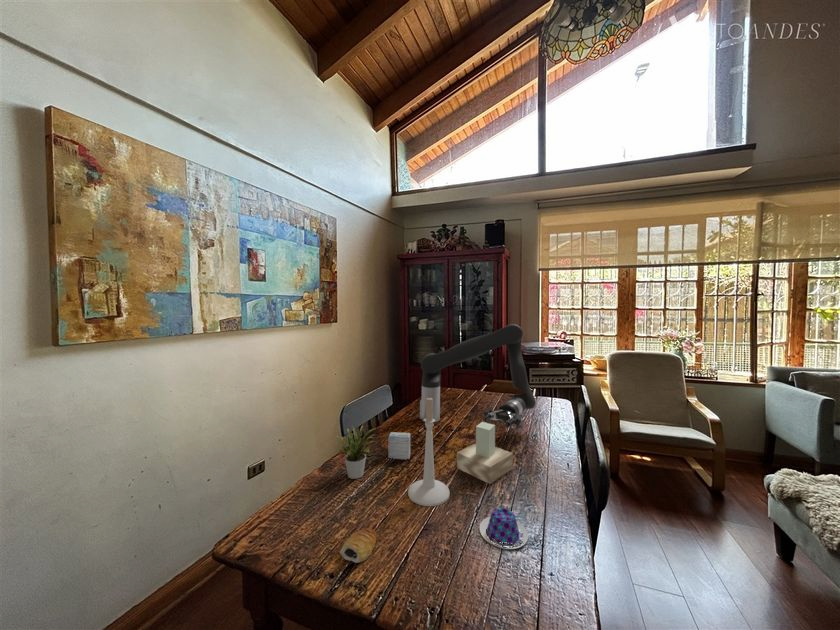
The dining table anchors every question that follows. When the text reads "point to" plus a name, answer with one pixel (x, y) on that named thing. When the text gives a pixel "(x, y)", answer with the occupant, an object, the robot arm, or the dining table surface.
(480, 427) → the pale green block
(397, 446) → the medicine box
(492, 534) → the pudding
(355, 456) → the house plant
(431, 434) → the candlestick
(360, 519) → the dining table surface
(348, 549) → the pastry
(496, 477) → the oak block
